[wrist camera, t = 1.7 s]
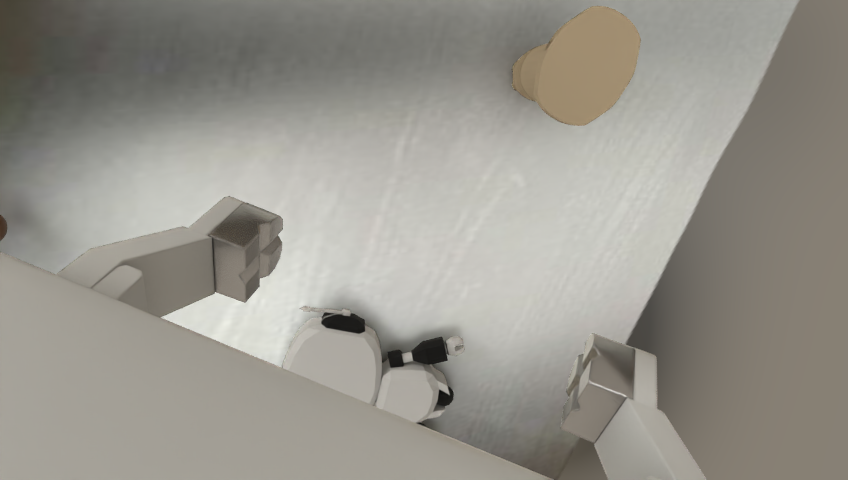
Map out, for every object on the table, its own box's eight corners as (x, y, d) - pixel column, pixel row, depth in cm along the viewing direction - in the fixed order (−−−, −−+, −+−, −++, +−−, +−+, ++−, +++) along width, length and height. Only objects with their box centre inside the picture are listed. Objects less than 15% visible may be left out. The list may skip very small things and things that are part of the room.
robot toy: (465, 320, 52) (298, 289, 49) (475, 342, 48) (293, 308, 45) (432, 438, 55) (272, 414, 52) (438, 469, 50) (265, 444, 48)
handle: (576, 56, 46) (657, 38, 31) (532, 126, 47) (591, 140, 33) (526, 23, 45) (586, -12, 31) (482, 95, 46) (520, 95, 32)
